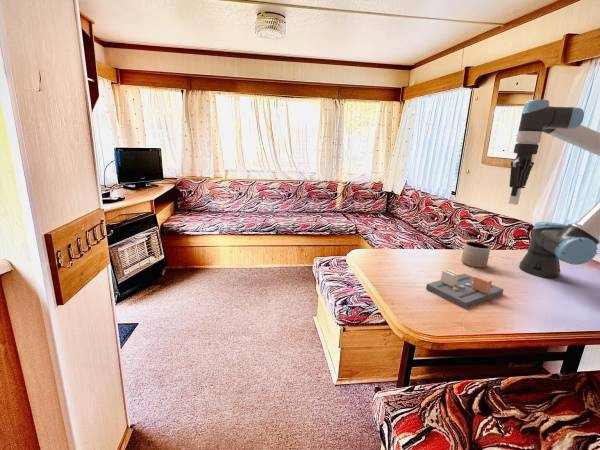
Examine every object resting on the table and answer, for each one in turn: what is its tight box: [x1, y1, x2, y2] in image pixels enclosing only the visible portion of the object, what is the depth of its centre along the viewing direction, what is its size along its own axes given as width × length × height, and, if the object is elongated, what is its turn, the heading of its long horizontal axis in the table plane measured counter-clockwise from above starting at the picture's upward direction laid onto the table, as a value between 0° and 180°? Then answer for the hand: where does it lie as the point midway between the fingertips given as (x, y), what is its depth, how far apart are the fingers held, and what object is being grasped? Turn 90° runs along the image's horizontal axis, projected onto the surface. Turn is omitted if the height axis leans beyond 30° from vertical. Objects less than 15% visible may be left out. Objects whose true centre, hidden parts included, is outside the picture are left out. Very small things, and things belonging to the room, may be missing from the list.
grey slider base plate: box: [425, 272, 504, 309], centre depth 122 cm, size 24×16×3 cm, turn 121°
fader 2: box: [472, 275, 493, 293], centre depth 119 cm, size 3×5×5 cm, turn 31°
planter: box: [460, 240, 491, 269], centre depth 150 cm, size 11×11×10 cm
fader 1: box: [440, 269, 460, 287], centre depth 123 cm, size 3×5×5 cm, turn 31°
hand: (513, 203), depth 128 cm, fingers closed
